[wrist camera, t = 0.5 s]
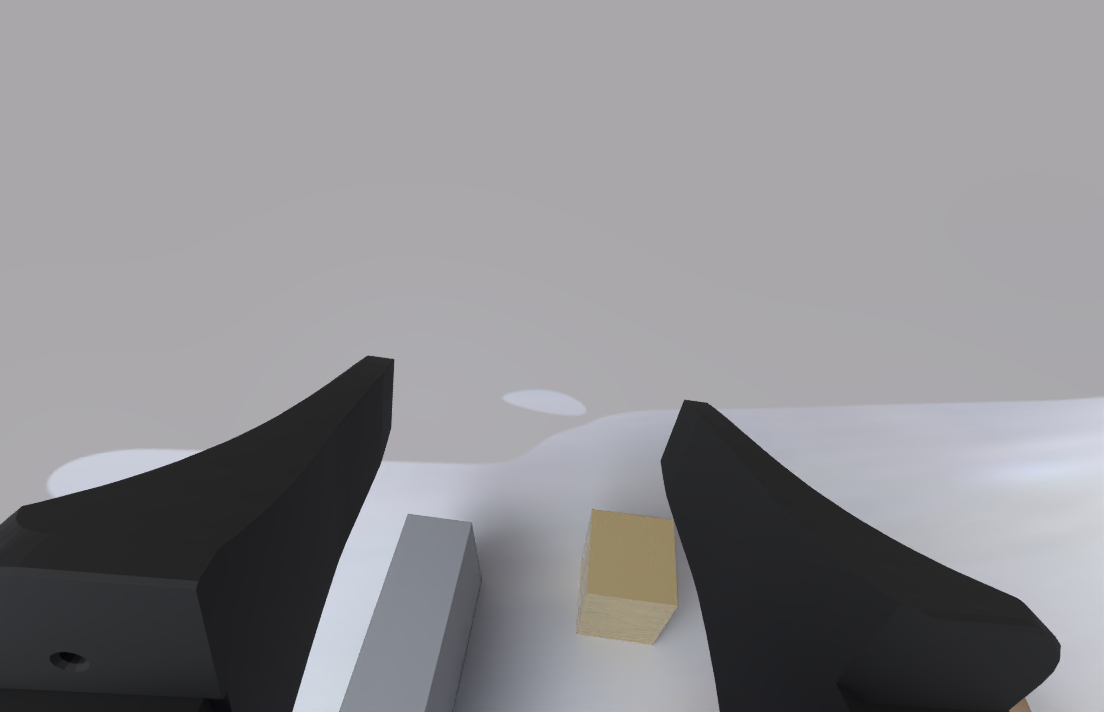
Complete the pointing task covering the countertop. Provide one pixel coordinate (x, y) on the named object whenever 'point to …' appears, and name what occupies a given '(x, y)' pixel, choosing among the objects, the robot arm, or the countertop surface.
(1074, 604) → the countertop surface
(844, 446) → the countertop surface
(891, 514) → the countertop surface
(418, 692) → the wall unit
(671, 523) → the brass block
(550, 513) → the countertop surface
